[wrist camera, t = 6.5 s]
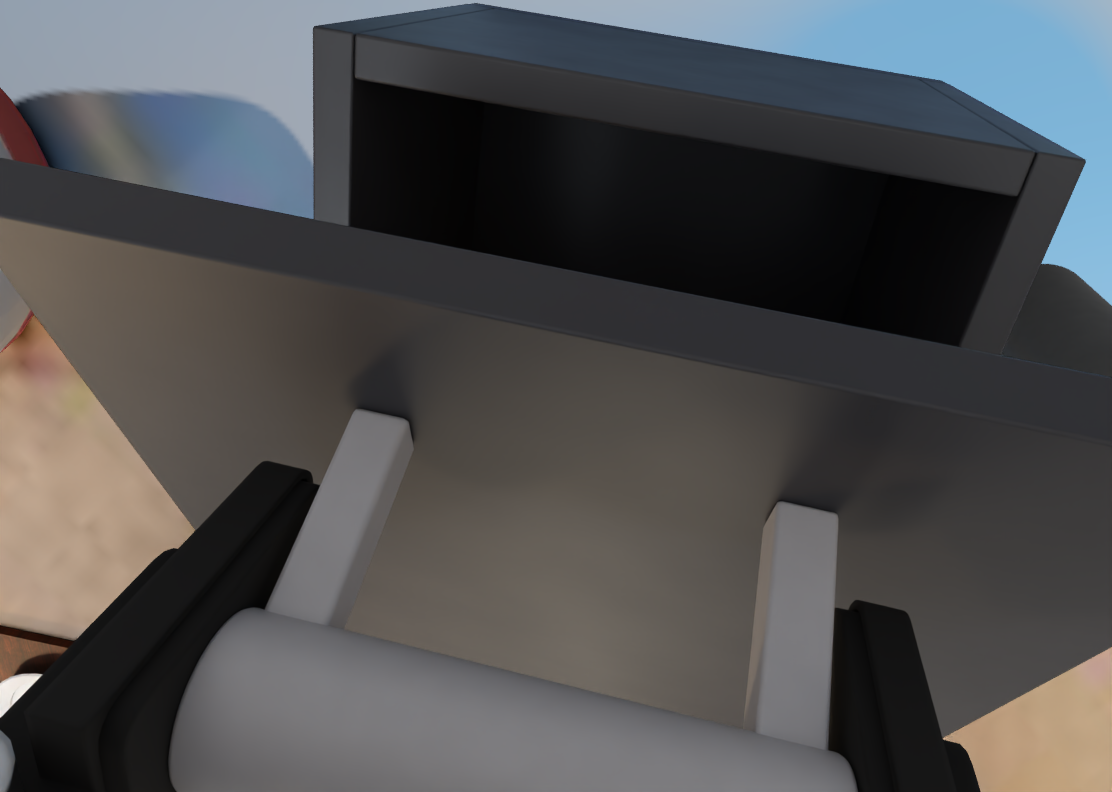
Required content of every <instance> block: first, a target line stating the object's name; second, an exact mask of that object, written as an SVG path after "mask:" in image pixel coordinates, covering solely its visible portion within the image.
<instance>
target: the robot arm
mask: <svg viewBox="0 0 1112 792" xmlns="http://www.w3.org/2000/svg"><path fill="white" fill-rule="evenodd" d="M319 487H320V485H318V484H314V483H313V477H312V474H311V472H310V471H308V470H305V469H301V468H297V467H292V466H288V465H284V464H280V463H275V462H271V461H263V462H261V463H260V464H259V465H257V466H256V467H255V469H254V470H253V471H252V472H251V473H250V474H249V475H248V476H247V477H246V478H245V479H244V480H243V481H242V482H241V483H240V484H239V485H238V486H237V488H236V489H235V490H234V491H233V492H232V493H231V494H230V495H229V496H228V497H227V498H226V499H225V500H224V501H223V502H222V503H221V504H220V505H219V506H218V508H217V509H216V510H215V511H214V512H213V513H212V514H211V515H210V516H209V517H208V518H207V519H206V520H205V521H204V522H203V523H202V524H201V525H200V527H199V528H198V529H197V530H196V531H195V532H194V533H193V534H192V535H191V536H190V537H189V538H188V539H187V540H186V541H185V542H184V543H183V544H182V546H181V547H180V548H179V549H175V548H173V549H170V550H167V551H164V552H163V553H162V554H160V555H159V556H158V557H157V558H156V559H154V560H153V561H152V562H151V563H150V564H149V565H148V566H147V567H146V569H145V570H144V571H143V572H142V573H141V574H140V575H139V576H138V577H137V578H136V579H135V580H134V581H133V582H132V583H131V584H130V585H129V586H128V587H127V588H126V589H125V590H124V591H123V592H122V593H121V594H120V595H119V596H118V597H117V598H116V599H115V600H114V601H113V602H112V603H111V605H110V606H109V607H108V608H107V609H106V610H105V611H104V612H103V613H102V614H101V615H100V616H99V617H98V618H97V619H96V620H95V621H94V622H93V623H92V624H91V625H90V626H89V627H88V628H87V629H86V630H85V631H84V632H83V633H82V634H81V635H80V636H79V637H78V638H77V640H76V641H75V642H74V643H73V644H72V645H71V646H70V647H69V648H68V649H67V650H66V651H65V652H64V653H63V654H62V655H61V656H60V657H59V658H58V659H57V660H56V661H55V662H54V663H53V664H52V665H51V666H50V667H49V668H48V669H47V670H46V671H45V672H44V673H43V675H42V676H41V677H40V678H39V679H38V680H37V681H36V682H35V683H34V684H33V685H32V686H31V687H30V688H29V689H28V690H27V691H26V692H25V693H24V694H23V695H22V696H21V697H20V698H19V699H18V700H17V701H16V702H15V703H14V704H13V705H12V706H11V707H10V708H9V710H8V711H7V712H6V713H5V714H4V715H3V716H2V717H1V718H0V792H177V791H176V790H175V789H174V787H173V786H172V784H171V781H170V777H169V770H168V757H169V747H170V740H171V735H172V730H173V725H174V722H175V718H176V714H177V711H178V708H179V705H180V702H181V699H182V696H183V694H184V691H185V689H186V686H187V684H188V681H189V679H190V677H191V675H192V673H193V671H194V669H195V667H196V665H197V663H198V661H199V659H200V657H201V655H202V654H203V652H204V650H205V649H206V647H207V646H208V644H209V643H210V641H211V639H212V638H213V637H214V635H215V634H216V633H217V631H218V630H219V629H220V628H221V627H222V626H223V624H224V623H225V622H226V621H227V620H228V619H229V618H231V617H232V616H233V615H234V614H236V613H237V612H239V611H241V610H243V609H247V608H252V607H254V608H260V609H264V610H265V607H266V605H267V603H268V601H269V598H270V596H271V594H272V592H273V590H274V587H275V585H276V583H277V581H278V578H279V576H280V574H281V572H282V570H283V567H284V565H285V563H286V561H287V558H288V556H289V554H290V552H291V550H292V547H293V545H294V543H295V541H296V538H297V536H298V534H299V532H300V530H301V527H302V525H303V523H304V521H305V518H306V516H307V514H308V512H309V510H310V507H311V505H312V503H313V501H314V498H315V496H316V494H317V492H318V490H319ZM828 750H829V751H833V752H837V753H839V754H840V755H842V756H843V757H844V758H845V759H846V760H847V761H848V762H849V764H850V766H851V768H852V770H853V773H854V776H855V780H856V784H857V789H858V792H980V788H979V785H978V781H977V778H976V775H975V771H974V768H973V765H972V763H971V760H970V758H969V755H968V753H967V751H966V750H965V749H964V748H963V747H962V746H961V745H960V744H958V743H954V742H950V741H946V740H943V738H942V734H941V731H940V727H939V723H938V719H937V716H936V712H935V708H934V705H933V701H932V697H931V693H930V690H929V686H928V682H927V679H926V675H925V671H924V668H923V664H922V660H921V656H920V653H919V649H918V645H917V642H916V638H915V634H914V630H913V627H912V623H911V620H910V617H909V615H908V613H907V612H905V611H904V610H900V609H896V608H891V607H887V606H883V605H879V604H874V603H870V602H866V601H862V600H854V601H853V603H852V604H851V605H850V607H849V609H848V610H846V609H841V608H835V609H834V631H833V653H832V676H831V698H830V721H829V743H828Z"/></svg>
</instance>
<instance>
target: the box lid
mask: <svg viewBox="0 0 1112 792" xmlns="http://www.w3.org/2000/svg"><path fill="white" fill-rule="evenodd" d="M0 269H1V271H2V272H3V273H4V275H5V276H6V277H7V279H8V280H9V281H10V283H11V284H12V285H13V287H14V288H15V289H16V291H17V292H18V293H19V295H20V296H21V297H22V299H23V300H24V301H25V303H26V304H27V305H28V307H29V308H30V309H31V311H32V312H33V313H34V315H35V316H36V317H37V319H38V320H39V321H40V323H41V324H42V326H43V327H44V328H45V330H46V331H47V332H48V334H49V335H50V336H51V338H52V339H53V340H54V342H55V343H56V344H57V346H58V347H59V348H60V350H61V351H62V352H63V354H64V355H65V356H66V358H67V359H68V360H69V362H70V363H71V364H72V366H73V367H74V368H75V370H76V371H77V372H78V374H79V375H80V376H81V378H82V379H83V380H84V382H85V383H86V384H87V386H88V387H89V388H90V390H91V391H92V392H93V394H94V395H95V396H96V398H97V399H98V400H99V402H100V403H101V405H102V406H103V407H104V409H105V410H106V411H107V413H108V414H109V415H110V417H111V418H112V419H113V421H114V422H115V423H116V425H117V426H118V427H119V429H120V430H121V431H122V433H123V434H124V435H125V437H126V438H127V439H128V441H129V442H130V443H131V445H132V446H133V447H134V449H135V450H136V451H137V453H138V454H139V455H140V457H141V458H142V459H143V461H144V462H145V463H146V465H147V466H148V467H149V469H150V470H151V471H152V473H153V474H154V475H155V477H156V478H157V479H158V481H159V482H160V484H161V485H162V486H163V488H164V489H165V490H166V492H167V493H168V494H169V496H170V497H171V498H172V500H173V501H174V502H175V504H176V505H177V506H178V508H179V509H180V510H181V512H182V513H183V514H184V516H185V517H186V518H187V520H188V521H189V522H190V524H191V525H192V526H193V528H194V529H195V530H197V529H198V528H199V527H200V525H201V524H202V523H203V522H204V521H205V520H206V519H207V518H208V517H209V516H210V515H211V514H212V513H213V512H214V511H215V510H216V509H217V508H218V506H219V505H220V504H221V503H222V502H223V501H224V500H225V499H226V498H227V497H228V496H229V495H230V494H231V493H232V492H233V491H234V490H235V489H236V488H237V486H238V485H239V484H240V483H241V482H242V481H243V480H244V479H245V478H246V477H247V476H248V475H249V474H250V473H251V472H252V471H253V470H254V469H255V467H256V466H257V465H259V464H260V463H261V462H263V461H271V462H275V463H280V464H284V465H288V466H292V467H297V468H301V469H305V470H308V471H310V472H311V474H312V477H313V483H314V484H318V485H320V487H319V490H318V492H317V494H316V496H315V498H314V501H313V503H312V505H311V507H310V510H309V512H308V514H307V516H306V518H305V521H304V523H303V525H302V527H301V530H300V532H299V534H298V536H297V538H296V541H295V543H294V545H293V547H292V550H291V552H290V554H289V556H288V558H287V561H286V563H285V565H284V567H283V570H282V572H281V574H280V576H279V578H278V581H277V583H276V585H275V587H274V590H273V592H272V594H271V596H270V598H269V601H268V603H267V605H266V607H265V610H264V609H260V608H254V607H252V608H247V609H243V610H241V611H239V612H237V613H236V614H234V615H233V616H232V617H231V618H229V619H228V620H227V621H226V622H225V623H224V624H223V626H222V627H221V628H220V629H219V630H218V631H217V633H216V634H215V635H214V637H213V638H212V639H211V641H210V643H209V644H208V646H207V647H206V649H205V650H204V652H203V654H202V655H201V657H200V659H199V661H198V663H197V665H196V667H195V669H194V671H193V673H192V675H191V677H190V679H189V681H188V684H187V686H186V689H185V691H184V694H183V696H182V699H181V702H180V705H179V708H178V711H177V714H176V718H175V722H174V725H173V730H172V735H171V740H170V747H169V757H168V770H169V777H170V781H171V784H172V786H173V787H174V789H175V790H176V791H177V792H858V789H857V784H856V780H855V776H854V773H853V770H852V768H851V766H850V764H849V762H848V761H847V760H846V759H845V758H844V757H843V756H842V755H840V754H839V753H837V752H833V751H829V750H828V743H829V721H830V698H831V676H832V653H833V631H834V609H835V608H841V609H846V610H848V609H849V607H850V605H851V604H852V603H853V601H854V600H862V601H866V602H870V603H874V604H879V605H883V606H887V607H891V608H896V609H900V610H904V611H905V612H907V613H908V615H909V617H910V620H911V623H912V627H913V630H914V634H915V638H916V642H917V645H918V649H919V653H920V656H921V660H922V664H923V668H924V671H925V675H926V679H927V682H928V686H929V690H930V693H931V697H932V701H933V705H934V708H935V712H936V716H937V719H938V723H939V727H940V731H941V734H942V738H943V737H945V736H947V735H949V734H951V733H953V732H954V731H956V730H958V729H960V728H962V727H964V726H966V725H968V724H969V723H971V722H973V721H975V720H977V719H979V718H981V717H982V716H984V715H986V714H988V713H990V712H992V711H994V710H995V709H997V708H999V707H1001V706H1003V705H1005V704H1007V703H1008V702H1010V701H1012V700H1014V699H1016V698H1018V697H1020V696H1021V695H1023V694H1025V693H1027V692H1029V691H1031V690H1033V689H1034V688H1036V687H1038V686H1040V685H1042V684H1044V683H1046V682H1047V681H1049V680H1051V679H1053V678H1055V677H1057V676H1059V675H1060V674H1062V673H1064V672H1066V671H1068V670H1070V669H1072V668H1074V667H1075V666H1077V665H1079V664H1081V663H1083V662H1085V661H1087V660H1088V659H1090V658H1092V657H1094V656H1096V655H1098V654H1100V653H1101V652H1103V651H1105V650H1107V649H1109V648H1111V647H1112V377H1107V376H1102V375H1097V374H1092V373H1087V372H1082V371H1077V370H1072V369H1067V368H1062V367H1057V366H1052V365H1047V364H1042V363H1037V362H1032V361H1027V360H1021V359H1016V358H1011V357H1006V356H1001V355H996V354H991V353H986V352H981V351H976V350H971V349H966V348H961V347H956V346H951V345H946V344H941V343H936V342H931V341H925V340H920V339H915V338H910V337H905V336H900V335H895V334H890V333H885V332H880V331H875V330H870V329H865V328H860V327H855V326H850V325H845V324H840V323H835V322H829V321H824V320H819V319H814V318H809V317H804V316H799V315H794V314H789V313H784V312H779V311H774V310H769V309H764V308H759V307H754V306H749V305H744V304H739V303H734V302H728V301H723V300H718V299H713V298H708V297H703V296H698V295H693V294H688V293H683V292H678V291H673V290H668V289H663V288H658V287H653V286H648V285H643V284H638V283H632V282H627V281H622V280H617V279H612V278H607V277H602V276H597V275H592V274H587V273H582V272H577V271H572V270H567V269H562V268H557V267H552V266H547V265H542V264H536V263H531V262H526V261H521V260H516V259H511V258H506V257H501V256H496V255H491V254H486V253H481V252H476V251H471V250H466V249H461V248H456V247H451V246H446V245H440V244H435V243H430V242H425V241H420V240H415V239H410V238H405V237H400V236H395V235H390V234H385V233H380V232H375V231H370V230H365V229H360V228H355V227H350V226H344V225H339V224H334V223H329V222H324V221H319V220H314V219H309V218H304V217H299V216H294V215H289V214H284V213H279V212H274V211H269V210H264V209H259V208H254V207H248V206H243V205H238V204H233V203H228V202H223V201H218V200H213V199H208V198H203V197H198V196H193V195H188V194H183V193H178V192H173V191H168V190H163V189H158V188H152V187H147V186H142V185H137V184H132V183H127V182H122V181H117V180H112V179H107V178H102V177H97V176H92V175H87V174H82V173H77V172H72V171H67V170H62V169H57V168H51V167H46V166H41V165H36V164H31V163H26V162H21V161H16V160H11V159H6V158H0Z"/></svg>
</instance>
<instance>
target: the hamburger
mask: <svg viewBox="0 0 1112 792" xmlns="http://www.w3.org/2000/svg"><path fill="white" fill-rule="evenodd" d="M73 643H74V641H69V640H65V639H60V638H55V637H50V636H46V635H41V634H36V633H31V632H27V631H22V630H17V629H12V628H8V627H3V626H0V718H1V717H2V716H3V715H4V714H5V713H6V712H7V711H8V710H9V708H10V707H11V706H12V705H13V704H14V703H15V702H16V701H17V700H18V699H19V698H20V697H21V696H22V695H23V694H24V693H25V692H26V691H27V690H28V689H29V688H30V687H31V686H32V685H33V684H34V683H35V682H36V681H37V680H38V679H39V678H40V677H41V676H42V675H43V673H44V672H45V671H46V670H47V669H48V668H49V667H50V666H51V665H52V664H53V663H54V662H55V661H56V660H57V659H58V658H59V657H60V656H61V655H62V654H63V653H64V652H65V651H66V650H67V649H68V648H69V647H70V646H71V645H72V644H73Z"/></svg>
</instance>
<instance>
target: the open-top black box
mask: <svg viewBox="0 0 1112 792" xmlns="http://www.w3.org/2000/svg"><path fill="white" fill-rule="evenodd" d="M313 127H314V129H313V135H314V137H313V140H314V143H313V145H314V146H313V147H314V220H319V221H324V222H329V223H334V224H339V225H344V226H350V227H355V228H360V229H365V230H370V231H375V232H380V233H385V234H390V235H395V236H400V237H405V238H410V239H415V240H420V241H425V242H430V243H435V244H440V245H446V246H451V247H456V248H461V249H466V250H471V251H476V252H481V253H486V254H491V255H496V256H501V257H506V258H511V259H516V260H521V261H526V262H531V263H536V264H542V265H547V266H552V267H557V268H562V269H567V270H572V271H577V272H582V273H587V274H592V275H597V276H602V277H607V278H612V279H617V280H622V281H627V282H632V283H638V284H643V285H648V286H653V287H658V288H663V289H668V290H673V291H678V292H683V293H688V294H693V295H698V296H703V297H708V298H713V299H718V300H723V301H728V302H734V303H739V304H744V305H749V306H754V307H759V308H764V309H769V310H774V311H779V312H784V313H789V314H794V315H799V316H804V317H809V318H814V319H819V320H824V321H829V322H835V323H840V324H845V325H850V326H855V327H860V328H865V329H870V330H875V331H880V332H885V333H890V334H895V335H900V336H905V337H910V338H915V339H920V340H925V341H931V342H936V343H941V344H946V345H951V346H956V347H961V348H966V349H971V350H976V351H981V352H986V353H991V354H996V355H1001V353H1002V351H1003V349H1004V347H1005V344H1006V342H1007V340H1008V338H1009V335H1010V333H1011V331H1012V329H1013V326H1014V324H1015V322H1016V319H1017V317H1018V315H1019V313H1020V310H1021V308H1022V306H1023V304H1024V301H1025V299H1026V297H1027V294H1028V292H1029V290H1030V288H1031V285H1032V283H1033V281H1034V279H1035V276H1036V274H1037V272H1038V269H1039V267H1040V265H1041V263H1042V260H1043V258H1044V256H1045V253H1046V251H1047V249H1048V247H1049V244H1050V242H1051V240H1052V237H1053V235H1054V233H1055V231H1056V229H1057V226H1058V224H1059V222H1060V219H1061V217H1062V215H1063V213H1064V210H1065V208H1066V206H1067V204H1068V201H1069V199H1070V197H1071V195H1072V192H1073V190H1074V188H1075V185H1076V183H1077V181H1078V178H1079V176H1080V174H1081V172H1082V169H1083V167H1084V165H1085V163H1086V161H1085V159H1083V158H1081V157H1079V156H1077V155H1076V154H1074V153H1072V152H1070V151H1069V150H1067V149H1065V148H1063V147H1061V146H1060V145H1058V144H1056V143H1054V142H1052V141H1050V140H1049V139H1047V138H1045V137H1043V136H1041V135H1040V134H1038V133H1036V132H1034V131H1032V130H1031V129H1029V128H1027V127H1025V126H1023V125H1022V124H1020V123H1018V122H1016V121H1014V120H1012V119H1011V118H1009V117H1007V116H1005V115H1003V114H1002V113H1000V112H998V111H996V110H994V109H993V108H991V107H989V106H987V105H985V104H984V103H982V102H980V101H978V100H976V99H974V98H973V97H971V96H969V95H967V94H965V93H964V92H962V91H960V90H958V89H956V88H955V87H953V86H951V85H949V84H947V83H945V82H943V81H940V80H934V79H928V78H922V77H916V76H909V75H904V74H898V73H892V72H886V71H880V70H874V69H868V68H862V67H856V66H850V65H844V64H838V63H832V62H826V61H820V60H814V59H808V58H802V57H796V56H789V55H784V54H777V53H772V52H766V51H760V50H754V49H748V48H742V47H736V46H730V45H724V44H718V43H712V42H706V41H700V40H694V39H688V38H682V37H676V36H670V35H664V34H658V33H652V32H646V31H640V30H634V29H628V28H622V27H616V26H610V25H603V24H598V23H592V22H586V21H580V20H574V19H568V18H562V17H556V16H550V15H544V14H538V13H531V12H526V11H519V10H514V9H508V8H502V7H496V6H490V5H484V4H478V3H474V4H464V5H458V6H451V7H444V8H437V9H431V10H424V11H416V12H409V13H402V14H396V15H388V16H381V17H374V18H368V19H361V20H354V21H347V22H340V23H333V24H326V25H319V26H314V28H313Z"/></svg>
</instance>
